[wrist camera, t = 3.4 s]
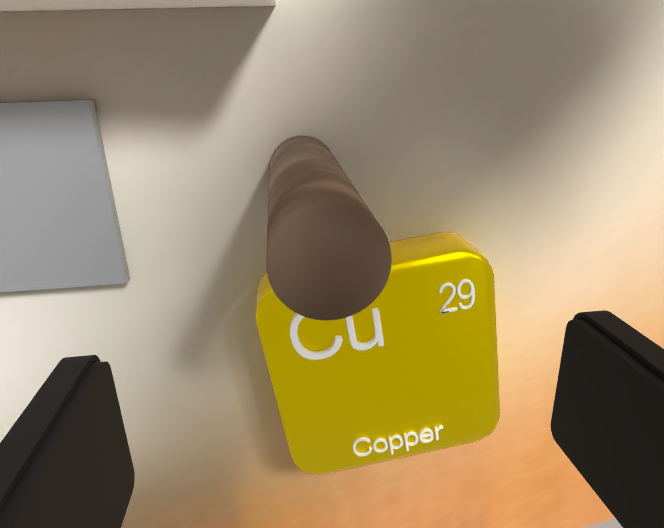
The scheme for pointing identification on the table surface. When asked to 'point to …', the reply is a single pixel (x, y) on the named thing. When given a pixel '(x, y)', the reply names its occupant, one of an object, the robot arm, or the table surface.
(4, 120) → the rubber mat
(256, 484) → the table surface
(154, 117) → the table surface
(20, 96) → the table surface
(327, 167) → the dowel
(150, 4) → the box
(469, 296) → the element tile
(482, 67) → the table surface
